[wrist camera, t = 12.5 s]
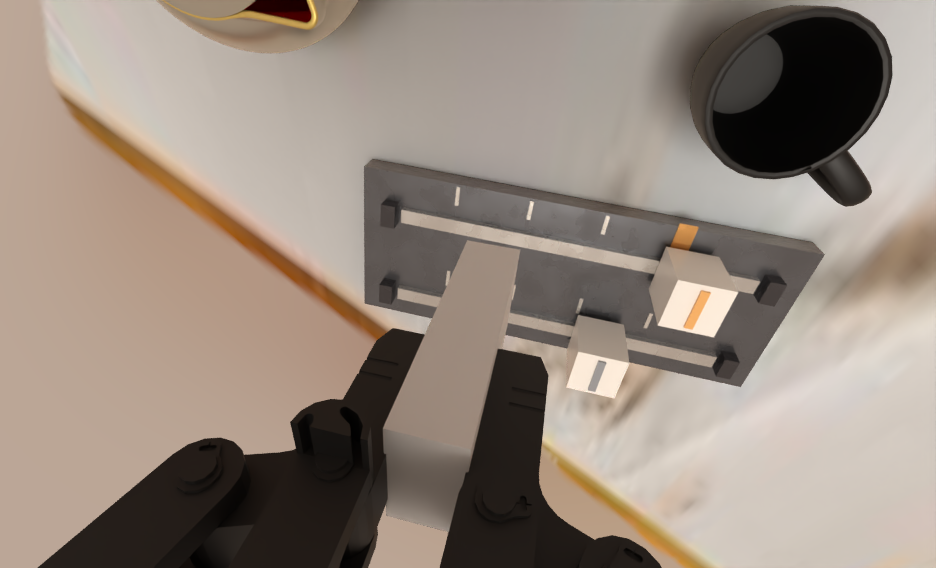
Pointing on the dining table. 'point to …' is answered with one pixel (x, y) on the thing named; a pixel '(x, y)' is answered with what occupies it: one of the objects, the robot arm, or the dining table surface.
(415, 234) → the console
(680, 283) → the fader
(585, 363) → the fader
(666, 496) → the dining table surface
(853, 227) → the dining table surface
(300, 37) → the teapot
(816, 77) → the mug
